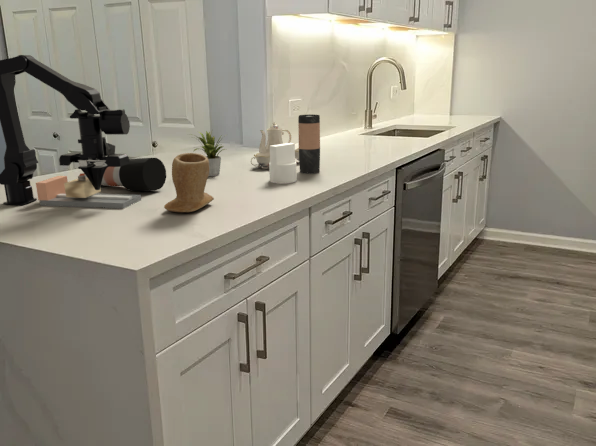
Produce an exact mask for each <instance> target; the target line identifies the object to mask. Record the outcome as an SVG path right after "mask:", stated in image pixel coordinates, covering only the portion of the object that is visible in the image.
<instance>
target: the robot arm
mask: <svg viewBox="0 0 596 446" xmlns="http://www.w3.org/2000/svg"><path fill="white" fill-rule="evenodd" d="M23 73H26V74H28V75H30V77H31V76H32V77H34V79H37V80H39V81H40V82H41V83H42V84H45V85H46V86H48V87H50V88H52V89H54V90H55V91H57V92H59V93H60V94H61V95H62V96H64V98H65V99H66V101H67V102H69V103H70V104H71V106H73V107H74V108H76V109H74V110H73V113H71V115H70V116H69V119H71V120H72V119H77V120H78V129H79V131H78V132H79V139H77V143H78V144H80V145H81V152H82V153H81V152H69V153H68V152H66V153H64V154H61V155H60V156H59V158H58V163H59V166H64V167H65V166H67V167H68V166H70V165H71V164H72V163H78V164H79V166H78V167H77V168H78V169H79V170H81V171H82V173H84V174H85V175H86V176H87V178H88V179H89V181H90V182H91V184H92V185H93V187H94V188H95V190H100V187H101V186H102V185H101V183H102V179H103V175H104V172H105V170H106V169H107V167H121V166H124V165H126V164H129V159H130V157H129V155H127V153H116V145H114V144H111V143H108V142H107V138H106V137H105V136H103V133H104V134H105V135H106V136H107V135H113V136H114V135H117V136H118V135H128V134H129V133H130V125H131V122H130V120H129V117H128V116H127V114H126V110H125V108H119V109H110V108H109V107H108V105H107V104H106V102H105V101H104V100H103V99H102V97H101V93H100V91H98V89H96V88H94V87H92V86H89V85H86V84H83V83H81V82H76V81H74V80H71V79H69V78H68V77H67V76H65V75H63V74H61V73H59V72H58V71H56V70H54V69H53V68H51V67H49V66H48V65H47V64H44V63H42V62H41V61H40V60H38V59H36V58H35V57H34V56H33V55H30V54H19V55H17V56H13V57H9V58H5V59H0V126H1V130H2V134H3V135H2V136H3V138H4V142H5V143H4V144H5V151H4V156H3V164H4V169H3V170H2V171H1V173H0V185H1V186H4V192H5V197H6V201H4V202H2V205H10V206H11V205H13V206H23V205H26V204H29V203H31V202H35V201H37V199H38V198H37V197H36V198H35V197H34V192H33V187H32V185H31V180H32V179H33V178H34V177H33V176H34V173H35V172H36V170H37V169H38V165H37V164H39V161H38V159H37V154H36V150H35V149H30V148H29V147H28V146H27V144H26V142H25V136H24V133H23V129H22V125H21V121H20V116H19V112H18V108H17V104H16V99H15V95H14V92H15V91H14V90H15V86H16V82H17V81H16V76H17V75H18V76H19V75H21V74H23Z"/></svg>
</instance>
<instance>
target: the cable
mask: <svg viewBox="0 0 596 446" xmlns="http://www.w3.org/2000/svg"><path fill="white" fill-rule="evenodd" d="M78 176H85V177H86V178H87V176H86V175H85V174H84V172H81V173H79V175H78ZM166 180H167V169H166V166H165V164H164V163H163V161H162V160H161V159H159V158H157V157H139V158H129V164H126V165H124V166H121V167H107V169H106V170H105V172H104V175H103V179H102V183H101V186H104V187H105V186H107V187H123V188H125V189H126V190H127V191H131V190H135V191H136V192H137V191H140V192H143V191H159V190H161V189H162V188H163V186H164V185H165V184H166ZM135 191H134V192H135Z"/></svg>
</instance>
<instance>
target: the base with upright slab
mask: <svg viewBox="0 0 596 446" xmlns="http://www.w3.org/2000/svg"><path fill="white" fill-rule="evenodd" d="M295 144H296V143H293V142H290V143H288V142H285V143H283V144H278V145H272V146H270V163H269V182H270V183H272V184H292V183H295V182H297V180H298V177H297V175H298V174H297V171H298V170H297V162H296V158H295V150H296V145H295Z"/></svg>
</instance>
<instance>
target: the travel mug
mask: <svg viewBox="0 0 596 446" xmlns="http://www.w3.org/2000/svg"><path fill="white" fill-rule="evenodd" d="M320 119H321V118H320V114H300V115H298V119H297V120H298V122H297V123H298V124H297V125H298V128H297V129H298V148H299V161H298V164H299V172H300V173H301V174H304V175H305V174H306V175H308V174H309V175H311V174H312V175H313V174H318V173H320V172H321V171H320V169H321V168H320V167H321V163H320V162H321V121H320Z"/></svg>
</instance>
